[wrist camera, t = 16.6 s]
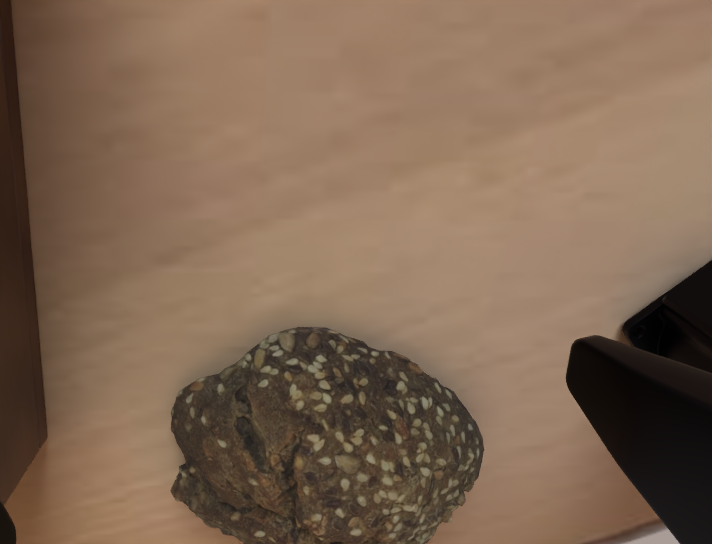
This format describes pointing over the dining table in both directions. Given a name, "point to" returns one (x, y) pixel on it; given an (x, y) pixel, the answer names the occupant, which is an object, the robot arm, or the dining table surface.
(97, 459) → the dining table surface
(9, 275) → the brown wooden open box
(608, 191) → the dining table surface
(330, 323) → the dining table surface
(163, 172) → the dining table surface
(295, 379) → the bread roll
